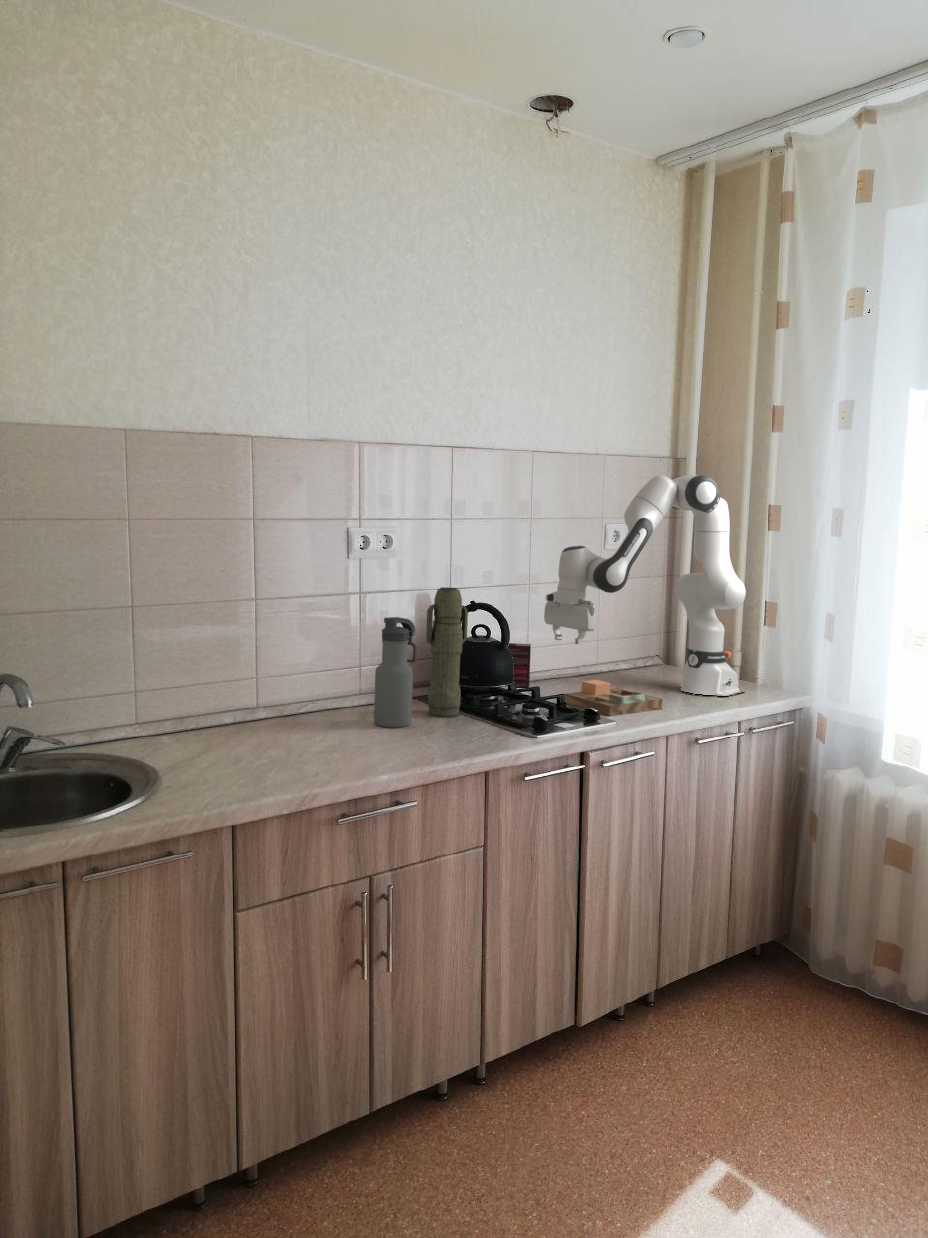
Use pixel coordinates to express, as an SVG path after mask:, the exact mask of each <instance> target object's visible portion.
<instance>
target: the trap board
mask: <svg viewBox="0 0 928 1238" xmlns="http://www.w3.org/2000/svg"><path fill="white" fill-rule="evenodd" d="M564 695H565V700H566V704H565V705H568V706H572V707H574V708H579V709H582V710H585V709H586V708H594V709H596V710H598V711H599V713H600V714H599V713H598V714H599V715H603V716H607V717H612V716H613V717H614V716H620V715H627V714H628V715H629V714H637V713H643V712H649V711H657V710H658V711H659V710H662V709H663V698H659V697H656V696H651V695H648V694H647V693H643V692H639V691H635V690H634V691H632V690H628V689H624V688H619V687H613V688H612V687H610V694H602V695H592V694H588V693H585V692H581V691H575V692H567V693H566V692H565V693H564V694H563V696H564Z"/></svg>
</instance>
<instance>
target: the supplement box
mask: <svg viewBox="0 0 928 1238" xmlns="http://www.w3.org/2000/svg"><path fill="white" fill-rule="evenodd" d="M508 643H509V646H508V649H509V651H510V653H511V655H512V657H513V663H514V681H515V686H516V688H529V689H530V677H531V676H530V675H531V672H530V671H531V651H532V650H531V648H532V646H531V643H514V642H512V643H511V642H508Z"/></svg>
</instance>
